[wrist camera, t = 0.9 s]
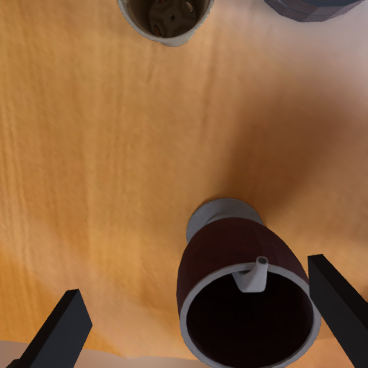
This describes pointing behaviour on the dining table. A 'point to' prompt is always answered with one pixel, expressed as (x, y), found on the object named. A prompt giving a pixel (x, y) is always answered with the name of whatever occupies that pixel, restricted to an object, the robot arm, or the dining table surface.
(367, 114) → the dining table surface
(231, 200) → the mate gourd
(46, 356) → the robot arm
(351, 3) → the bowl
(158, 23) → the flower pot
